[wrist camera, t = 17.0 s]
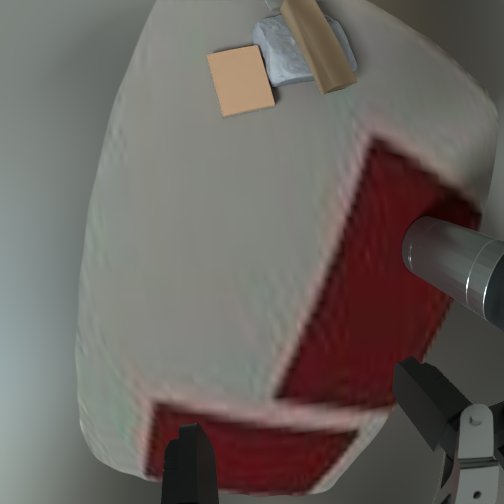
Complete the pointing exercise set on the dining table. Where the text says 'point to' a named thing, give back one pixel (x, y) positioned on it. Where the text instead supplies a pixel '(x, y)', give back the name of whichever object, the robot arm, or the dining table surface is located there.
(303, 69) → the stone block
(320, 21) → the spatula
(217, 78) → the tile
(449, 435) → the robot arm
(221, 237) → the dining table surface
